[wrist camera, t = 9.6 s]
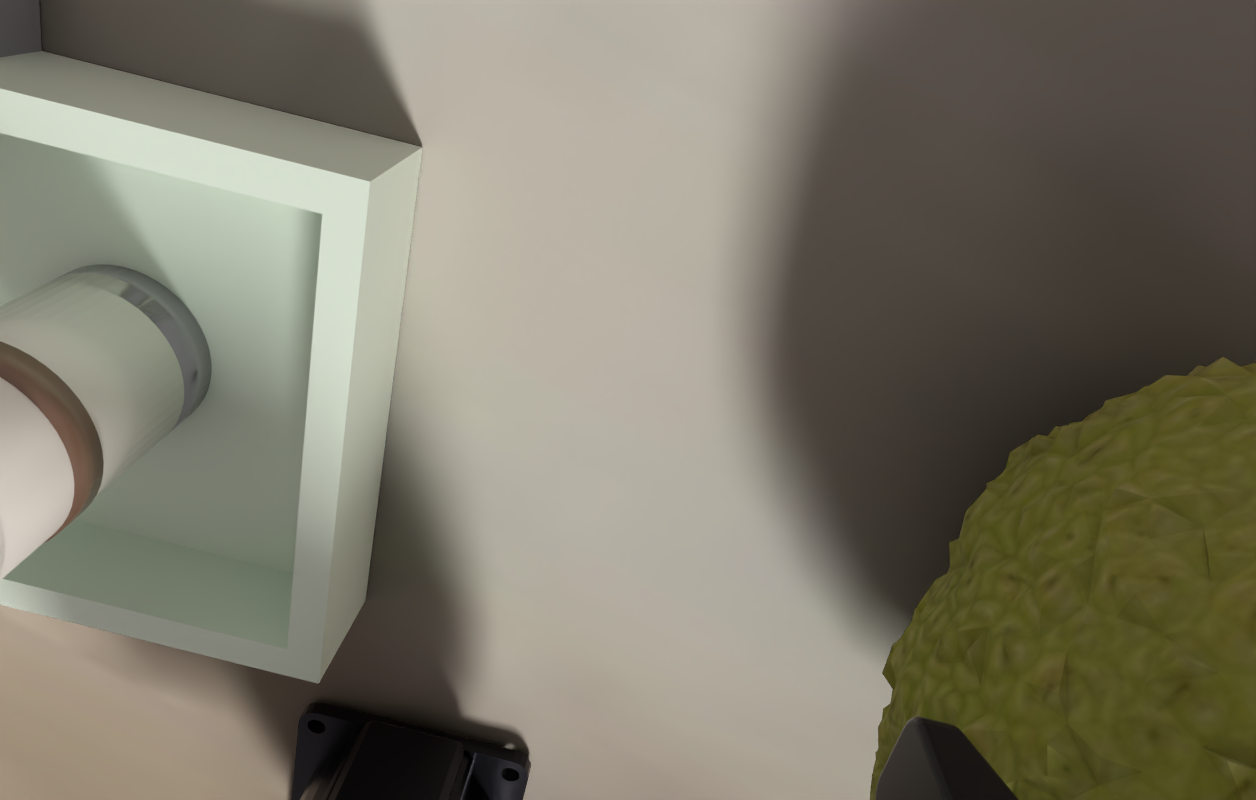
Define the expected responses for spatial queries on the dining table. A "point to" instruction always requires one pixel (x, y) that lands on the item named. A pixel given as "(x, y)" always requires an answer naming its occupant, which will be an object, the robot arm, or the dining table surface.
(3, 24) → the holder
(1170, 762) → the fruit
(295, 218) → the tray
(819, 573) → the dining table surface
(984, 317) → the dining table surface
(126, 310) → the cylinder
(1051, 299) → the dining table surface
